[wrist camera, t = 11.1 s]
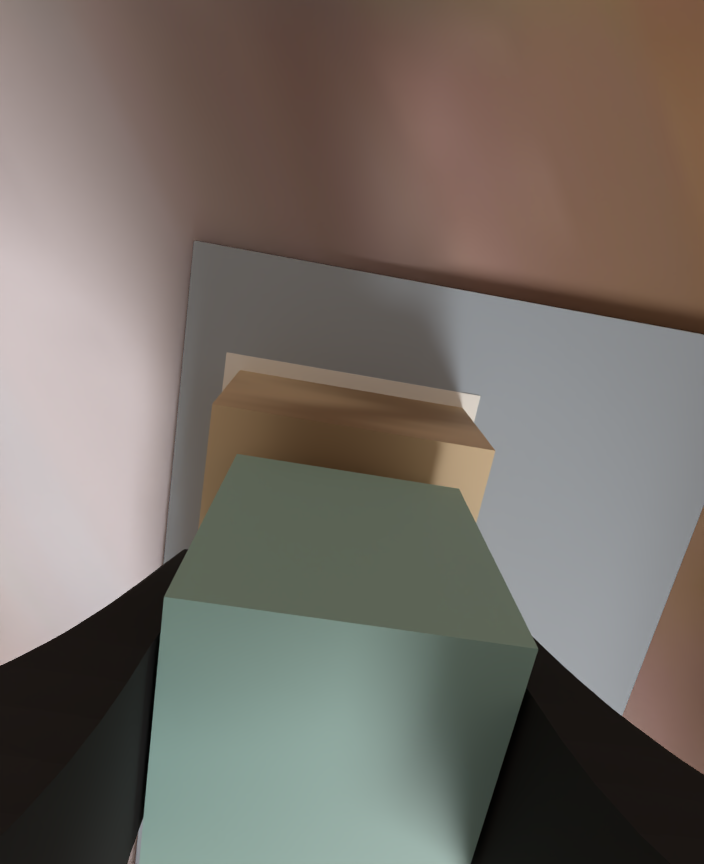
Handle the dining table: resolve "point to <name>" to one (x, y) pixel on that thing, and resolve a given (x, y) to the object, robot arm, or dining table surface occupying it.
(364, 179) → the dining table surface
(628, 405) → the blueprint board
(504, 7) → the dining table surface
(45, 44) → the dining table surface
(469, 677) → the sage-green block
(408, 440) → the oak base block
